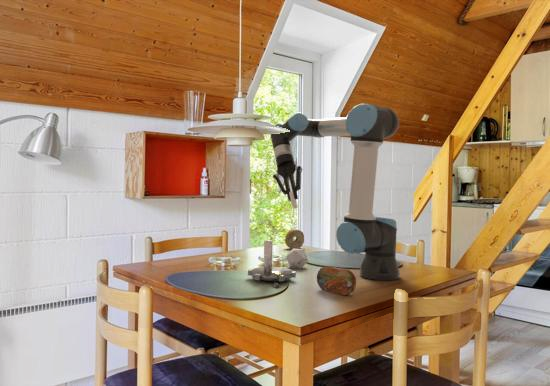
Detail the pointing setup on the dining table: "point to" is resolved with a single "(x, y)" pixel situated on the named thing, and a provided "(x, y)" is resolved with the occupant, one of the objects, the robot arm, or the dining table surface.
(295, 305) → the dining table surface
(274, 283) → the timing pointer
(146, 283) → the dining table surface
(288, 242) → the stone disc
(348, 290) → the tin
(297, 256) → the die
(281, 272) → the sprocket
